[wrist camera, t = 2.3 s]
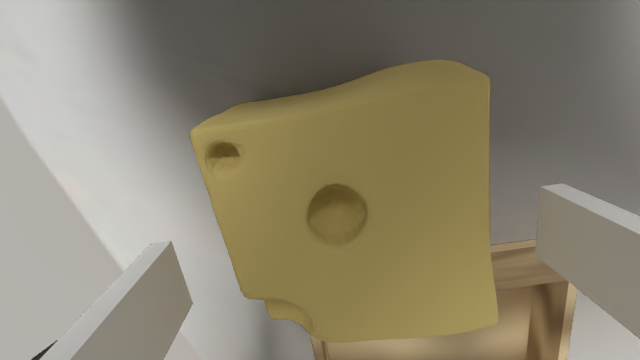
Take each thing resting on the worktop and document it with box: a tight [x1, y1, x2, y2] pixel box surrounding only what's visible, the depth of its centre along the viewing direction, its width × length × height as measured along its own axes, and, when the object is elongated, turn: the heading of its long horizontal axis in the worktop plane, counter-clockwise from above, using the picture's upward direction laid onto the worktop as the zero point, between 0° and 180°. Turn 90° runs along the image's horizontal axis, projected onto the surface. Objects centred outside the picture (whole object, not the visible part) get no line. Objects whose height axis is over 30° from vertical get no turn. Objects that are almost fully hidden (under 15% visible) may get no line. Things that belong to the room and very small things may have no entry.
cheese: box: [190, 59, 498, 343], centre depth 16 cm, size 10×11×10 cm
